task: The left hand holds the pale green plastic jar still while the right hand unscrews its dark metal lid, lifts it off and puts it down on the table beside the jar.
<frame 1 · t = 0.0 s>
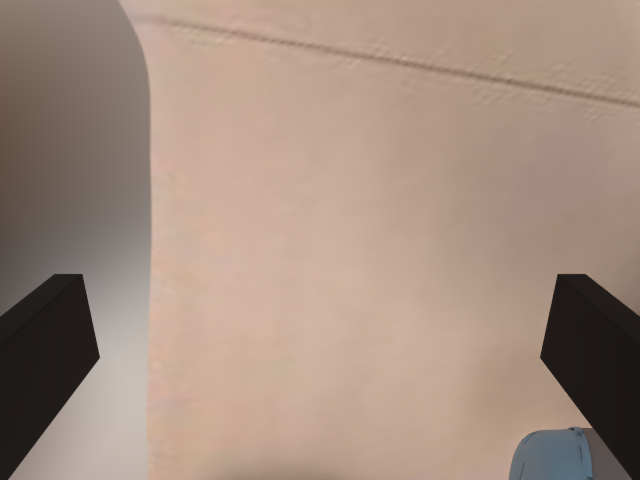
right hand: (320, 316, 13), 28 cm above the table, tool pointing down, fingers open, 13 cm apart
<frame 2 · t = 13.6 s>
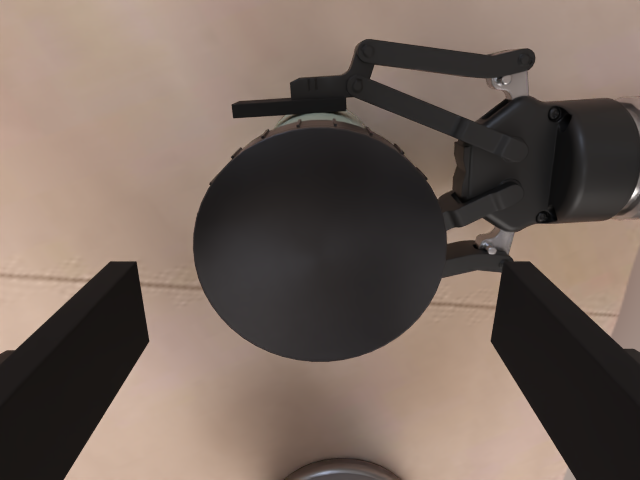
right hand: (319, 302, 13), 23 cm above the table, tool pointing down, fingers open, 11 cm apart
left hand: (245, 182, 29), fingers closed on jar, 8 cm apart
lid: (320, 252, 17), point 19 cm above the table, screwed on, not yet turned
jar: (320, 157, 35), on the table, touching left hand
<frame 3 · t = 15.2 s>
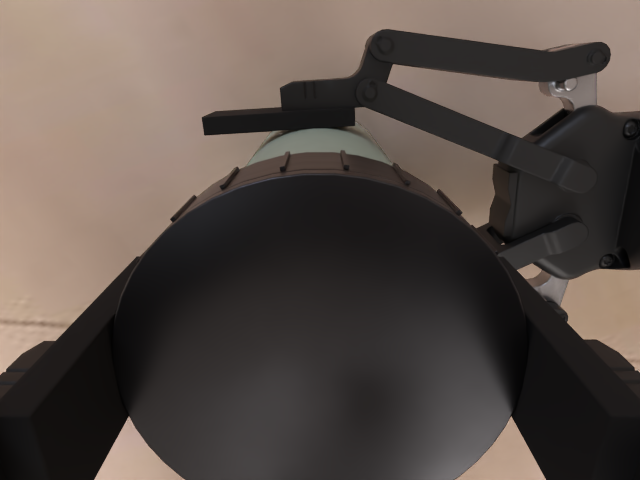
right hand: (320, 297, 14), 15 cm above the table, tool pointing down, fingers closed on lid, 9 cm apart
left hand: (224, 215, 22), fingers closed on jar, 8 cm apart
lid: (320, 366, 11), point 19 cm above the table, screwed on, not yet turned, touching right hand
jar: (319, 178, 28), on the table, touching left hand
when the right hand's fingers open (0 cm above the table, at t = 24.5 s): lid drops 2 cm, point 2 cm above the table.
when the left hand's fingers open (7 cm above the table, at t = 25.5 s): jar stays where it is, on the table.
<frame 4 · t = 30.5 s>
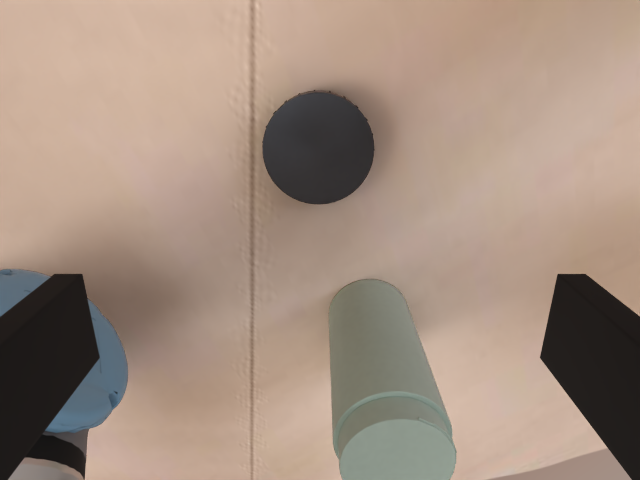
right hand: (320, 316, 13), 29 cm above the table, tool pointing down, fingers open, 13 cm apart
lid: (318, 150, 38), point 2 cm above the table, off its thread
jar: (368, 314, 46), on the table
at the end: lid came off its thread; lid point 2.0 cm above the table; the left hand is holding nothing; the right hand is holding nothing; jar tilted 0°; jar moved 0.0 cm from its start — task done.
